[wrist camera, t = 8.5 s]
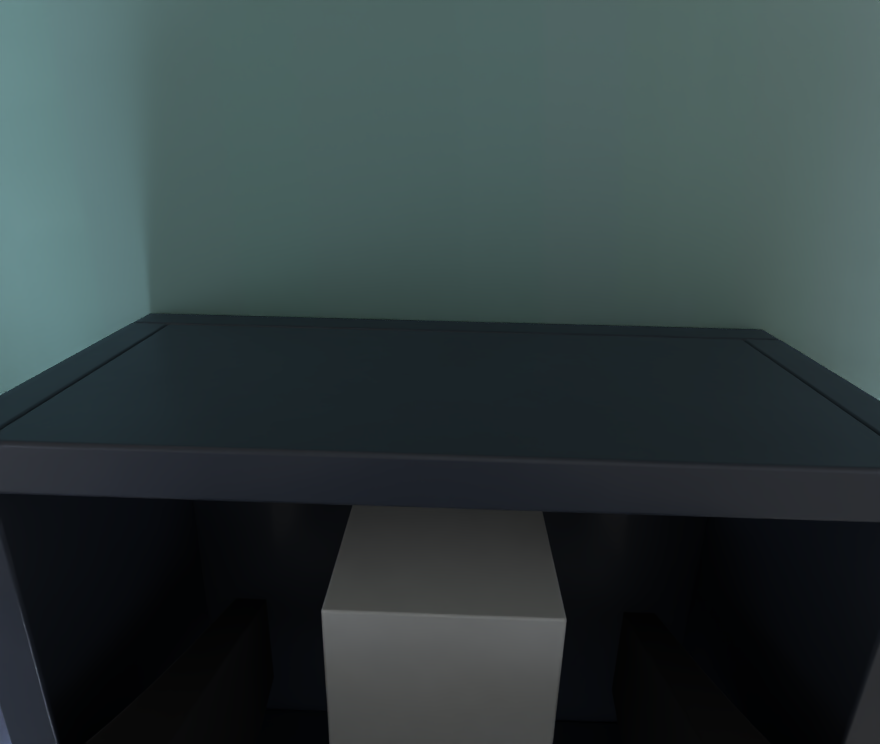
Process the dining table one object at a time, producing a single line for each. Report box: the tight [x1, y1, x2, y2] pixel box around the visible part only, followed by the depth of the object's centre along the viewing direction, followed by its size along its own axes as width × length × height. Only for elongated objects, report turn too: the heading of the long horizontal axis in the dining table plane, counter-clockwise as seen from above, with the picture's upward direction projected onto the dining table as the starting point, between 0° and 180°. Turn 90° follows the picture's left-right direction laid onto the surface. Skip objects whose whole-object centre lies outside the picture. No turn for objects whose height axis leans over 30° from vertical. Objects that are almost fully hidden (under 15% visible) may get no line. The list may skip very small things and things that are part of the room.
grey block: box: [321, 505, 567, 744], centre depth 13 cm, size 4×5×4 cm
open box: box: [0, 314, 880, 744], centre depth 13 cm, size 12×14×6 cm
